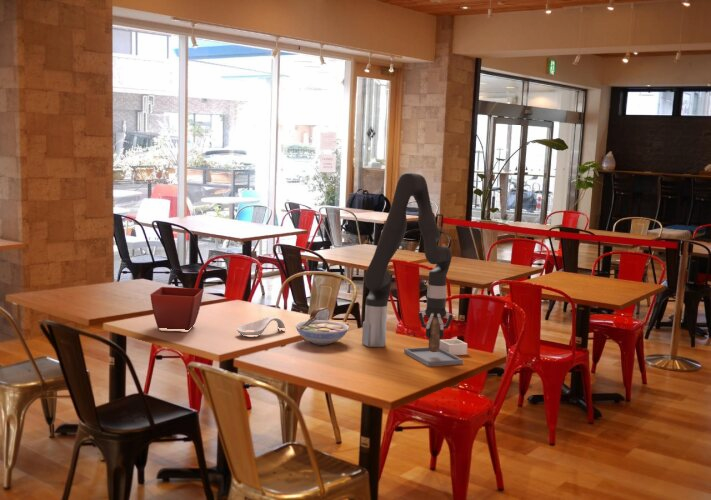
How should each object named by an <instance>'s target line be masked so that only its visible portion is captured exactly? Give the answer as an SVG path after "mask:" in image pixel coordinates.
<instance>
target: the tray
mask: <svg viewBox="0 0 711 500" xmlns="http://www.w3.org/2000/svg"><path fill="white" fill-rule="evenodd" d="M428 347H429V346H427V347H426V346H425V347H413V348H411V347H410V348H404V349H403V353H404V355H407V356H409V357H410V358H412V359H415V360H416V361H417V362H420V363H422V364H424V365H425V366H426V367H440V366H441V367H442V366H454V365H456V366H457V365H463V363H464V359H462V358H460V357H459V356H458V355H453V354H451V353H449V352H447V351H445V350H443V349H441V348H439V352H431V351H429V350H428Z"/></svg>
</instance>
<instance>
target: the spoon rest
mask: <svg viewBox="0 0 711 500" xmlns="http://www.w3.org/2000/svg"><path fill="white" fill-rule="evenodd" d="M272 321H275V322H276V323H277V328H278V327H279V328H285V329H286V327H285V323H284V322H283V320H282V319H280V318H277V317H274V316H267V317H264V318H262V319H259V320H256V321H254V322H250V323H246V324H242V325H239V326H237V328H236V331H237V332H238V334H239V333H240V334H239V335H241V334H243V335H259V334H261V335H262V333H264V331H265V330H266V328H268V325H269V324H270V323H271V322H272ZM246 330H254V332H243V331H246ZM259 336H260V335H259Z"/></svg>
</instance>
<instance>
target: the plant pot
mask: <svg viewBox="0 0 711 500" xmlns="http://www.w3.org/2000/svg"><path fill="white" fill-rule="evenodd" d="M203 293H204V289H202V288H192V287H190V288H188V287H172V286H171V287H170V286H161V287H159V288H157V289H156V290H155V291H152V292H151V293H150V294H149V295H150V301H151V302H150V303H151V307H152V312H153V316H154V319H155V322H156V326H157V329H158V328H167V329H185V330H189V329H190V328H191V327H192V326H193V325H194V324H196V322H197V319H198V315H199V313H200V308H201V305H202V300H203ZM194 326H195V325H194Z"/></svg>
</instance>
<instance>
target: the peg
mask: <svg viewBox="0 0 711 500" xmlns="http://www.w3.org/2000/svg"><path fill="white" fill-rule="evenodd" d="M440 322H441V321H440ZM429 329H430V331H429V338H428V346H427V347H428V350H429V351H431V352H439V346H440V340H441V339H440V329H441V328H440V324H439V320H438V317H433V318H432V321H431V324H430V326H429Z"/></svg>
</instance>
